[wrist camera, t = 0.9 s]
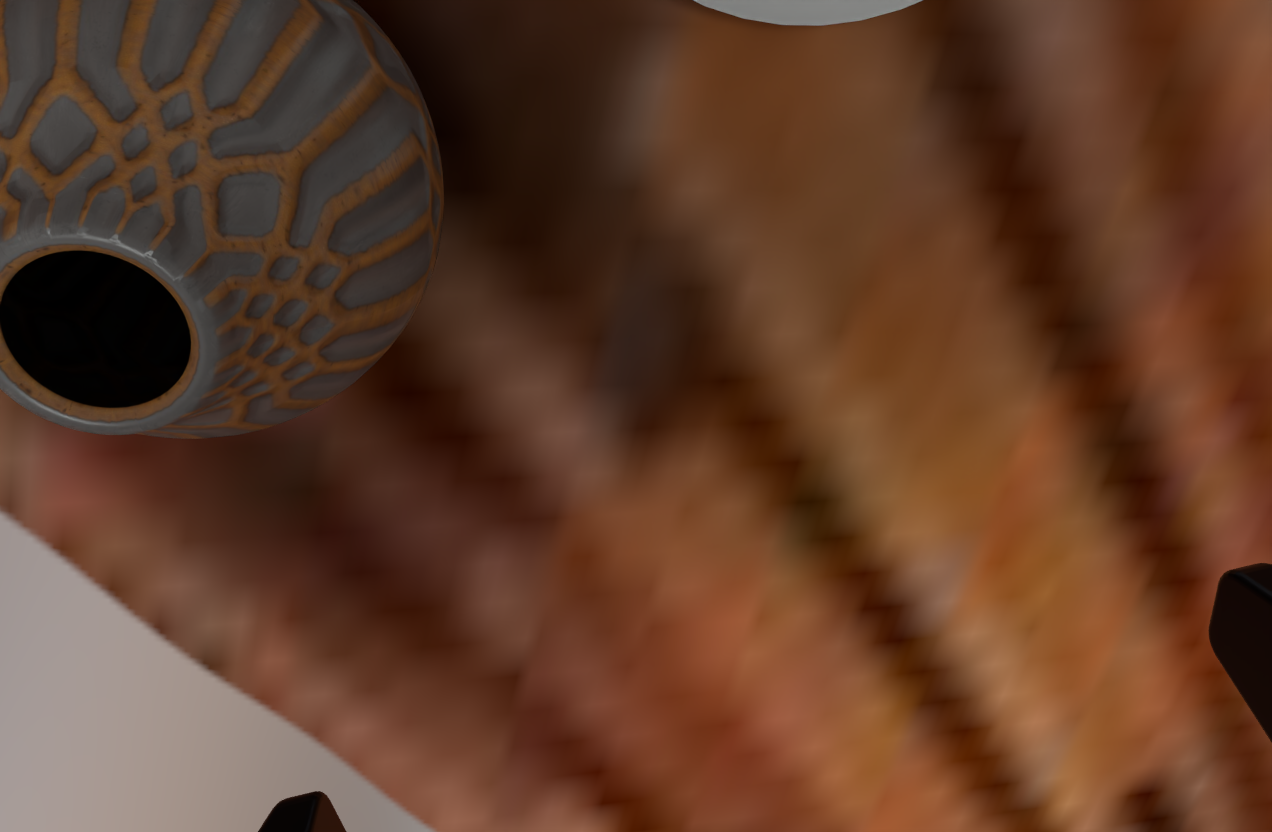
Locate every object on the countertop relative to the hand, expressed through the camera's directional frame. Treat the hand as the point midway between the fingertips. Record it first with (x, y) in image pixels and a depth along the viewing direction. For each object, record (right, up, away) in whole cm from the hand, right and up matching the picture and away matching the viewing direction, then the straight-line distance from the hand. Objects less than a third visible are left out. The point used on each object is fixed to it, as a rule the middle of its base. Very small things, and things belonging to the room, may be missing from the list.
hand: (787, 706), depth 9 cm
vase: (-8, +8, +8) cm, 14 cm away
